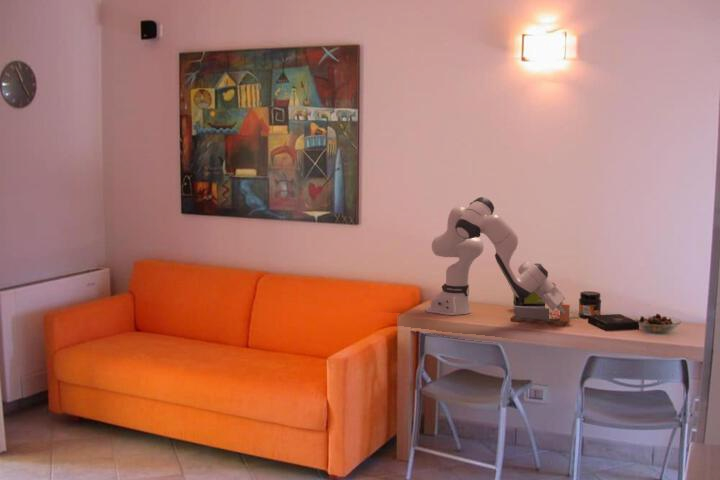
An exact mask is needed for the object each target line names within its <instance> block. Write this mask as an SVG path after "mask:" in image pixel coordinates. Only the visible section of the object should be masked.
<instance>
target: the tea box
mask: <svg viewBox="0 0 720 480" xmlns="http://www.w3.org/2000/svg"><path fill="white" fill-rule="evenodd" d="M512 302H513V310H514V311H515V306H524V307H535V308H546V303H545V302H544V301H543V298H540V297H539V296H538V295H537V294H536V293H535V291H533V292H532V293H531V294H530V295H529V297H528V298H523V299H522V298H518V297H517V296H516V295H515V294H514V293H513V301H512Z"/></svg>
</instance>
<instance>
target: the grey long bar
mask: <svg viewBox="0 0 720 480" xmlns="http://www.w3.org/2000/svg"><path fill="white" fill-rule="evenodd" d="M514 315H515V317H521V318H532V319H542V320H548V319H549V317H550V308H546V307H545V308H535V307H524V306H515V310H514Z"/></svg>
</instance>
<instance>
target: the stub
mask: <svg viewBox="0 0 720 480" xmlns="http://www.w3.org/2000/svg"><path fill="white" fill-rule="evenodd" d="M563 303H564V302H563ZM563 303H561V304H560V305H561V307H562V308H563V309H565V310H566V313H565V314H563V313H562V312H561V311H559V318H560V321H565V322H568V321H569V322H570V305H571V304H570V303H564V304H563Z"/></svg>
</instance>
